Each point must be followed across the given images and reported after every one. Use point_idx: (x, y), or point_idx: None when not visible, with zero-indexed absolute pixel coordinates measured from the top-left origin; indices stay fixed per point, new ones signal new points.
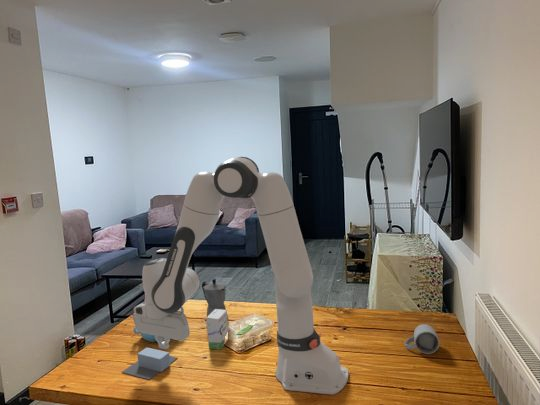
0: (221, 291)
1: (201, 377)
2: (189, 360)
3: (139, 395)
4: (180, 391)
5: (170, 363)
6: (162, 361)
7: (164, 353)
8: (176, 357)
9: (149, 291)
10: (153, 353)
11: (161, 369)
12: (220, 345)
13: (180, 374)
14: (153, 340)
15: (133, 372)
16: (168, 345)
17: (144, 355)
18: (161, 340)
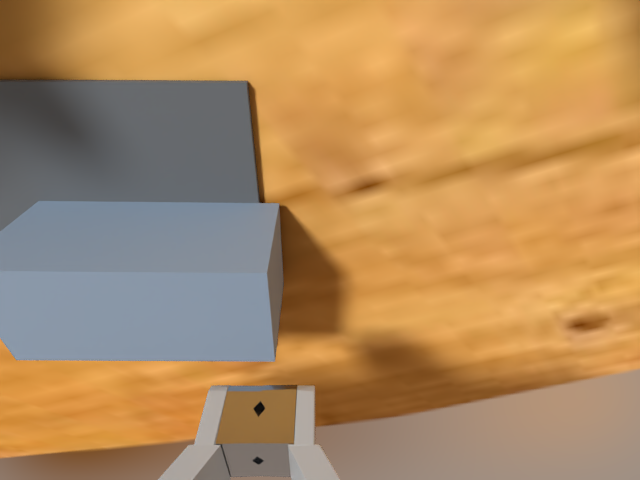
0: None
1: (590, 238)
2: (384, 69)
3: (323, 412)
4: (502, 355)
5: (256, 180)
6: (276, 317)
7: (236, 298)
8: (233, 86)
9: None
10: (139, 324)
11: (282, 292)
12: None
13: (422, 255)
14: None
15: None
16: (314, 408)
17: (101, 360)
18: (210, 476)
